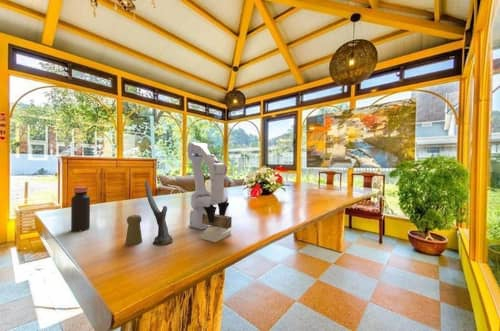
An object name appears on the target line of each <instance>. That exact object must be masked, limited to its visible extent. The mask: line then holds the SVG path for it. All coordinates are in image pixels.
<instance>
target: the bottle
mask: <svg viewBox="0 0 500 331" xmlns="http://www.w3.org/2000/svg"><path fill="white" fill-rule="evenodd" d="M88 191H89V190H88V186H76V187H75V186H74V187H73V193H74V195H73V196H72V197H71V205H70V206H71V209H70V210H71V217H70V231H71V232H74V233H75V232H77V233H78V232H83V231H87V230H90V226H91V224H90V223H91V197H90V195H88Z"/></svg>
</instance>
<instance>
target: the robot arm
mask: <svg viewBox="0 0 500 331" xmlns="http://www.w3.org/2000/svg"><path fill="white" fill-rule="evenodd" d="M186 149H187V156H188V160H190V161H191V166H192V167H191V168H192V172H193V181H194V187H195V188H194V189H195V191H194V192H193V193H192V194H191V195H190V206H191V208H192V209H191V210H190V212H189V225H188V227H190V228H194V229H197V230H204V229H205V230H206V228H208V227H211V225H206V224H202V214H204V213H207V216H208V220H209V222H211V223H213V222H214V215H215V214H216V211H217V206H218V215H223V216H226V213H227V212H226V211H227V209H228V207H229V205H230V202H229V197H226V196H224V193H225V192H224V189H225V176H226V175H227V171H228V169H227V168H228V167H227V164H226V163H225V162H222V161H220V160H219V159H218V157H217V156H216V155H215V154H213V153H211V152H210V150H209V144H208V143H207V142H205V143H204V142H194V141H193V142H192V141H189V142H188V144H187V148H186ZM202 161H204V164H205V165H206V167H207V168H208V173H209V180H210V191H209V190H207V189H206V183H205V178H204V172H203V164H202ZM215 205H217V206H215Z"/></svg>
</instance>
